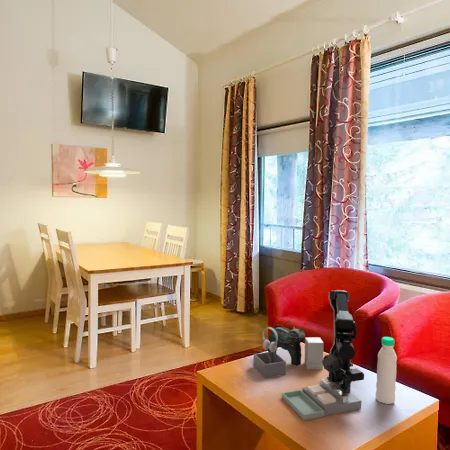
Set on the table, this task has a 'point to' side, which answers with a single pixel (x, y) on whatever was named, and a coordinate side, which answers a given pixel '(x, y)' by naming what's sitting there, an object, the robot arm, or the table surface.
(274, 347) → the headphones
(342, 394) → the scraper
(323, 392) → the tile
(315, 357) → the supplement box
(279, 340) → the power drill
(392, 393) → the water bottle
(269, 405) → the table surface
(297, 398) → the bin
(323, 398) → the tile
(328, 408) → the board
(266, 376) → the gray open box
